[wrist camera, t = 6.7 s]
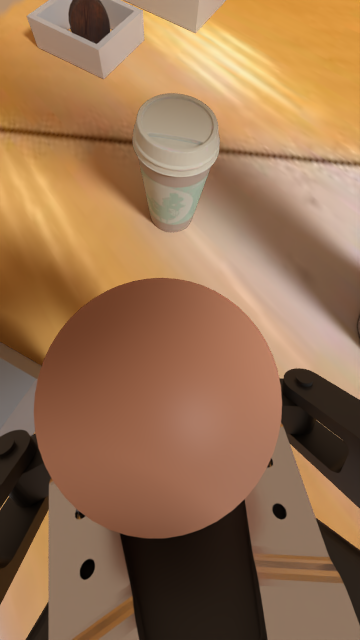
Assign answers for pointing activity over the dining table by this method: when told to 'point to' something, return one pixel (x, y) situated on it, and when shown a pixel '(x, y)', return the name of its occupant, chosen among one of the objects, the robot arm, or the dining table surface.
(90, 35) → the dark brown rounded piece
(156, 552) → the robot arm
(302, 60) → the dining table surface
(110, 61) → the tray
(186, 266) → the dining table surface
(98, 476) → the pin
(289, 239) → the dining table surface
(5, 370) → the hole block
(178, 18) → the cactus tray
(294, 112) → the dining table surface
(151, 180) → the coffee cup
